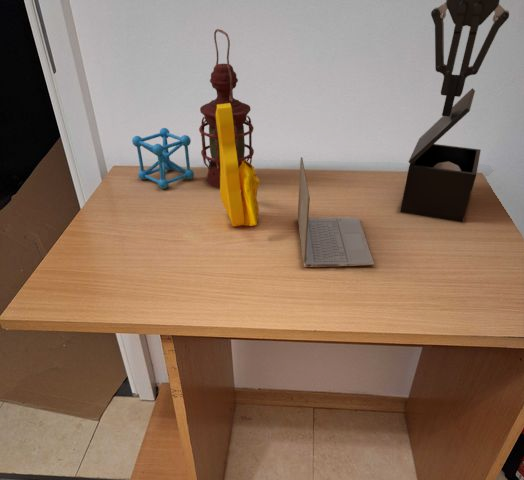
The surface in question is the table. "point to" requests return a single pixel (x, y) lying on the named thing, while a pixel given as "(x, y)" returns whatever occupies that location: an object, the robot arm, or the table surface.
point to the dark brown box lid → (442, 126)
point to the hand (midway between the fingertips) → (446, 113)
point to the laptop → (329, 236)
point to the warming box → (441, 183)
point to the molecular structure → (163, 157)
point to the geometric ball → (447, 166)
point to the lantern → (224, 84)
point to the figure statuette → (235, 174)
